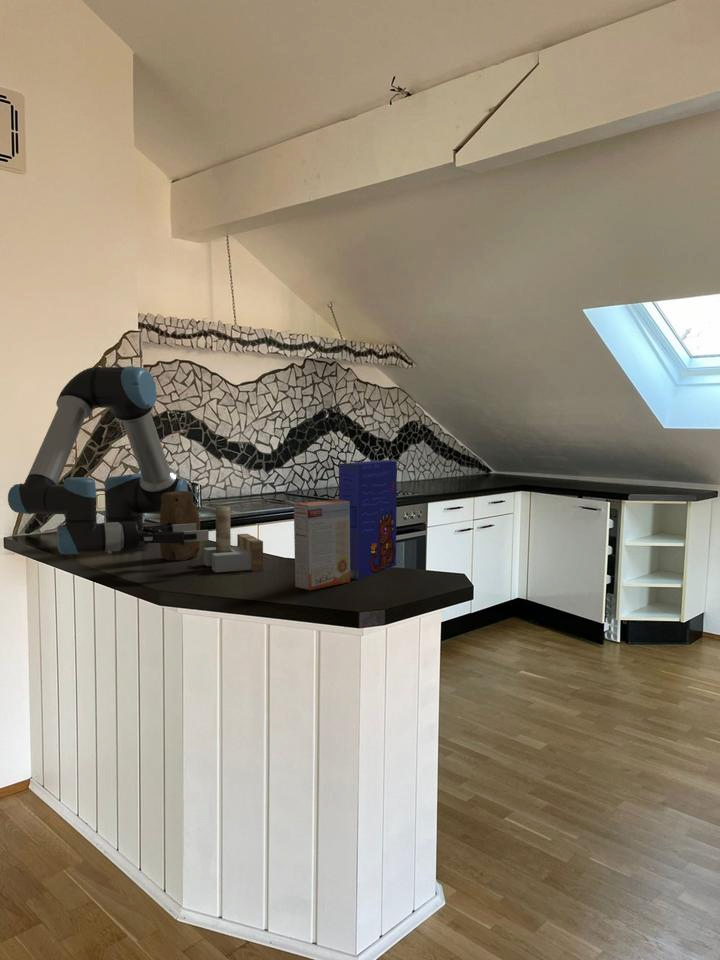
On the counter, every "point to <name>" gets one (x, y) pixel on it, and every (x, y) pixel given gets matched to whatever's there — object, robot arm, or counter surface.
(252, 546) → the wall
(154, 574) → the counter surface
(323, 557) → the cracker box
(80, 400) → the robot arm
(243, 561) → the block
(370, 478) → the cereal box
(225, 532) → the dowel
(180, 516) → the block
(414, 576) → the counter surface
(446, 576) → the counter surface
